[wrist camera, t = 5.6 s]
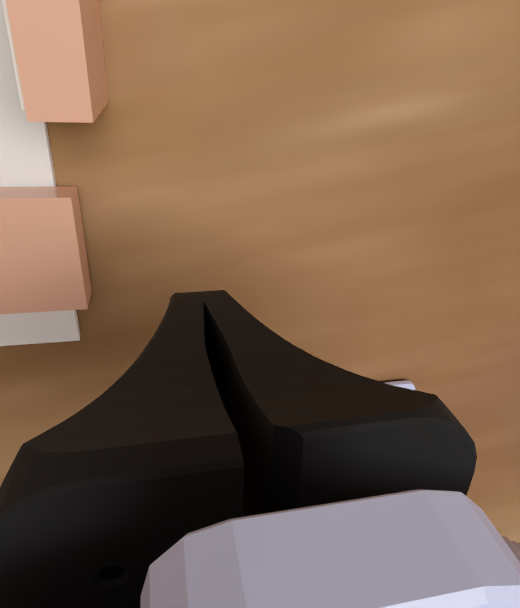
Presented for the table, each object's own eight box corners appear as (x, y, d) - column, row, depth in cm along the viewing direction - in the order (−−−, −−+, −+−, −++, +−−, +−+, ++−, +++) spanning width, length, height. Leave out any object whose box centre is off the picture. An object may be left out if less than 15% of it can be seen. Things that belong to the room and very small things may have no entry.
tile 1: (109, 101, 18) (93, 122, 12) (59, 99, 17) (20, 121, 12) (94, -49, 15) (67, -98, 10) (36, -54, 15) (-22, -107, 10)
